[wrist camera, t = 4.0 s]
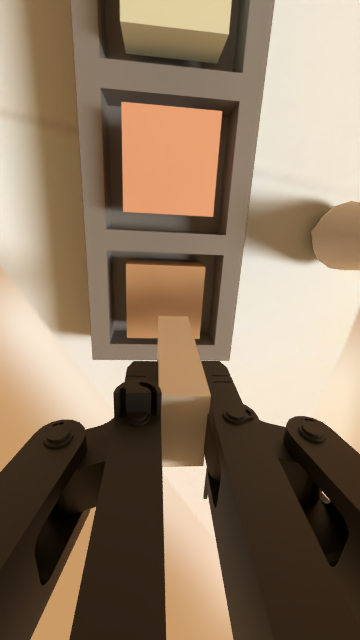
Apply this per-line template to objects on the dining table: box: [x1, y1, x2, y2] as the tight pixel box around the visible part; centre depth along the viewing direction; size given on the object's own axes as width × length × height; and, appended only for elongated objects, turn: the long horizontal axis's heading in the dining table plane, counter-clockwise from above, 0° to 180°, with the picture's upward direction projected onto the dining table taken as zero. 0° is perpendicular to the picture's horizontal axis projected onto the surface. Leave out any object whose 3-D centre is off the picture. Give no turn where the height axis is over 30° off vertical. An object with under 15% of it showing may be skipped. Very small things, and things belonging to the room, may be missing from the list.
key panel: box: [71, 0, 275, 361], centre depth 22 cm, size 30×12×5 cm, turn 177°
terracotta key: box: [121, 102, 222, 217], centre depth 19 cm, size 6×6×3 cm
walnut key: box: [126, 258, 205, 339], centre depth 24 cm, size 6×6×3 cm
